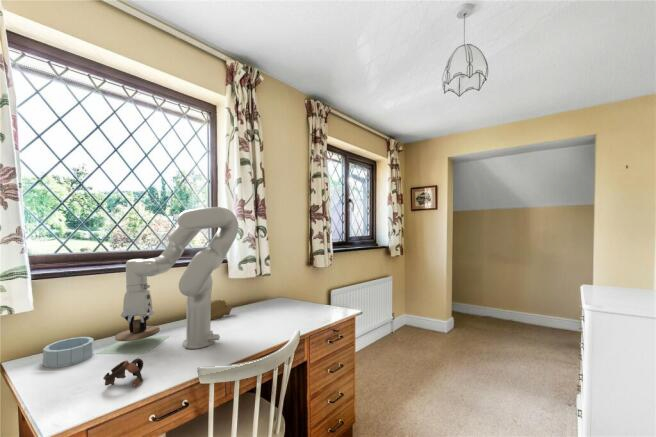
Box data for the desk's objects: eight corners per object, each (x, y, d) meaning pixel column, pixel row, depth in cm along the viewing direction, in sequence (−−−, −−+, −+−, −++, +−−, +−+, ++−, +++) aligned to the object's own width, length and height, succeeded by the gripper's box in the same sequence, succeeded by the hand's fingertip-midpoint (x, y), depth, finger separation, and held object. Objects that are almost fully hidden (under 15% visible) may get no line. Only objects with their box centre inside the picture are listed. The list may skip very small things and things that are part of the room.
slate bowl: (101, 352, 120) (102, 337, 120) (71, 368, 106) (71, 351, 106) (67, 352, 120) (67, 336, 120) (32, 368, 106) (32, 351, 106)
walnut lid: (167, 326, 135) (166, 314, 135) (145, 340, 119) (144, 325, 119) (131, 328, 135) (131, 315, 135) (105, 342, 119) (104, 327, 119)
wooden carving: (228, 314, 172) (229, 296, 172) (232, 316, 169) (232, 298, 169) (199, 320, 161) (199, 301, 161) (202, 322, 158) (202, 303, 158)
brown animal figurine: (132, 394, 91) (116, 373, 89) (108, 405, 92) (92, 385, 91) (156, 366, 102) (142, 347, 101) (135, 376, 104) (121, 358, 102)
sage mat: (169, 337, 136) (169, 336, 136) (143, 354, 117) (143, 353, 117) (128, 336, 137) (128, 336, 137) (95, 354, 118) (95, 353, 118)
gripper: (161, 285, 131) (162, 327, 131) (123, 287, 131) (124, 329, 131) (151, 289, 124) (152, 333, 123) (111, 290, 124) (112, 335, 124)
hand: (138, 331), depth 127 cm, fingers closed on walnut lid, 3 cm apart
